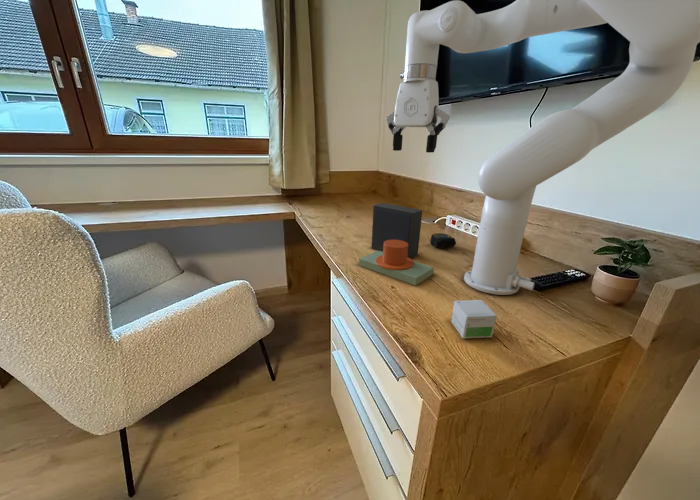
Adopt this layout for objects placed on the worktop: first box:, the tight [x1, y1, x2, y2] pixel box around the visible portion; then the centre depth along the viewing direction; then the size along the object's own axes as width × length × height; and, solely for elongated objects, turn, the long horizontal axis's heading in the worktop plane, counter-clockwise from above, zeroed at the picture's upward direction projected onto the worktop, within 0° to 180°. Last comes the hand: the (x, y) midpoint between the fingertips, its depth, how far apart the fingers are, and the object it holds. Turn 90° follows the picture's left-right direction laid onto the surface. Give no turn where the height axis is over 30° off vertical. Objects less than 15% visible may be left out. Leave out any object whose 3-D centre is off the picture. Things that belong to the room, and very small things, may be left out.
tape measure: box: [429, 232, 457, 249], centre depth 102 cm, size 7×7×4 cm
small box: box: [450, 299, 497, 340], centre depth 57 cm, size 6×6×5 cm
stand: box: [358, 250, 435, 286], centre depth 83 cm, size 18×9×2 cm, turn 49°
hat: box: [376, 240, 414, 270], centre depth 82 cm, size 10×10×6 cm
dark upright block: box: [370, 202, 423, 260], centre depth 94 cm, size 14×5×14 cm, turn 49°
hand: (413, 151), depth 80 cm, fingers open, 9 cm apart
